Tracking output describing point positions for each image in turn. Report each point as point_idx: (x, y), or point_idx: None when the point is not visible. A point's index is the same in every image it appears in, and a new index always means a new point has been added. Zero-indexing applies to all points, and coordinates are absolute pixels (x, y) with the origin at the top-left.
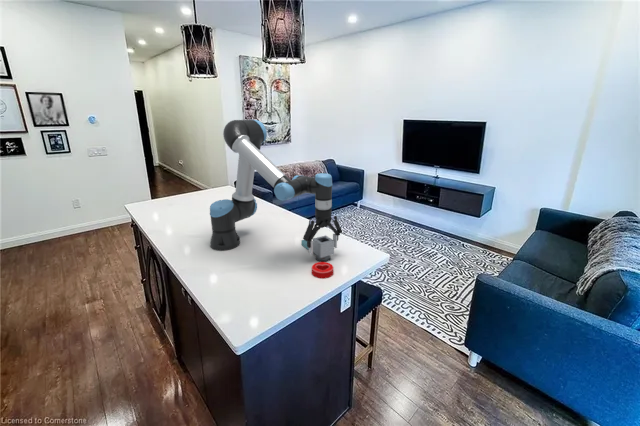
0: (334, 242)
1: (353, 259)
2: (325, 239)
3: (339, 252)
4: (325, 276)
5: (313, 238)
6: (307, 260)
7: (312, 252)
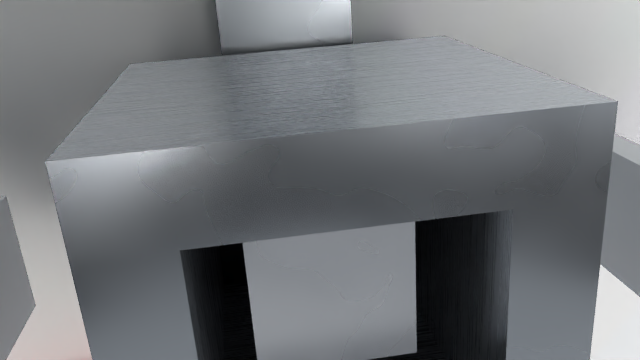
0: (634, 240)
1: (636, 332)
2: (482, 214)
3: (626, 78)
4: None
5: (77, 173)
6: (16, 115)
7: (14, 328)
